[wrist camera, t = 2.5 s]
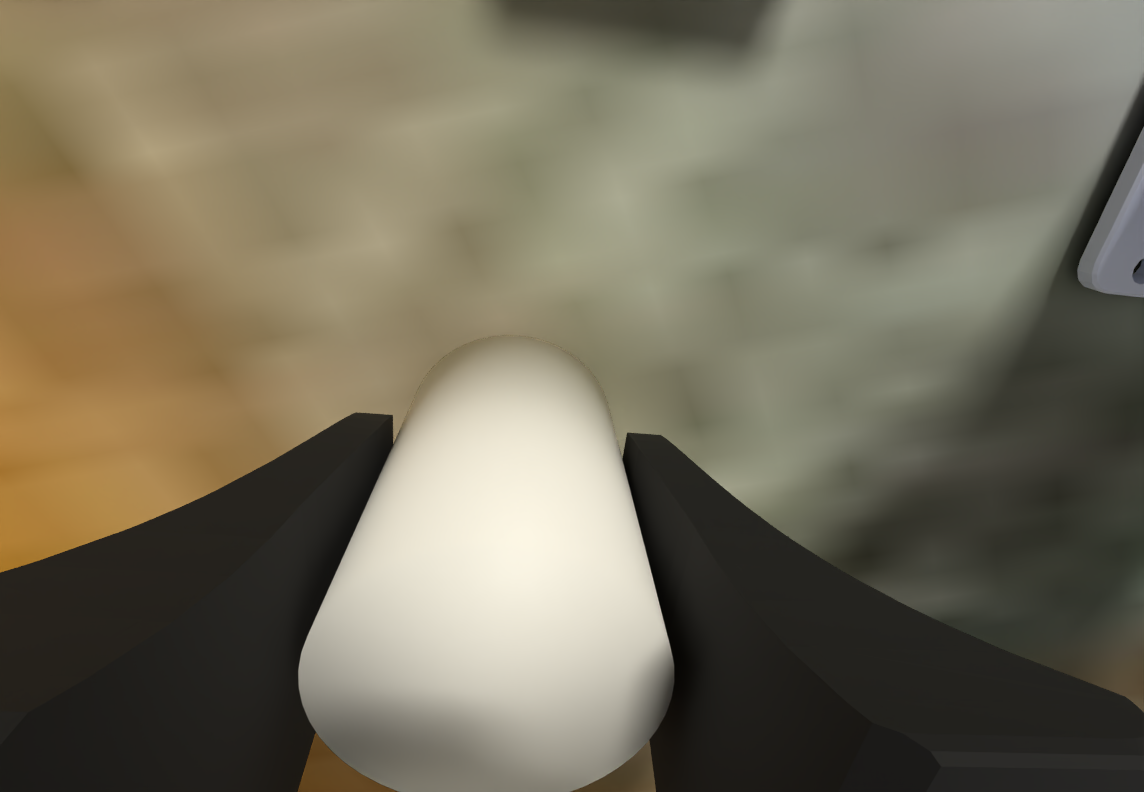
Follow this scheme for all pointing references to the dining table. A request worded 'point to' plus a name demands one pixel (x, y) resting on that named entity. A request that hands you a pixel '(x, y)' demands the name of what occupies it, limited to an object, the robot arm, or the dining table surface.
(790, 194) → the dining table surface
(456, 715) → the dowel
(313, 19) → the dining table surface
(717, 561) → the robot arm
